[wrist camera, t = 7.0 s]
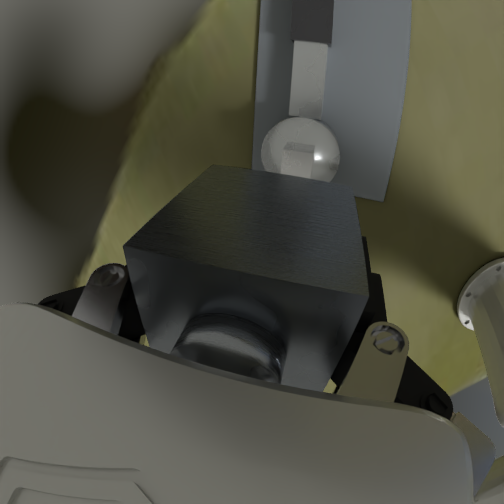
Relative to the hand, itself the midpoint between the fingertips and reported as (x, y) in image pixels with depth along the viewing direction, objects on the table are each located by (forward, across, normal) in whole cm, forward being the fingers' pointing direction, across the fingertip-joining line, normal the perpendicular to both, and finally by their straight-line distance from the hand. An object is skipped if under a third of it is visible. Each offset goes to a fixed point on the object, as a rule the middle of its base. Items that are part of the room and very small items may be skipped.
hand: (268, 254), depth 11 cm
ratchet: (+19, 0, -9) cm, 21 cm away
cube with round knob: (+1, 0, 0) cm, 1 cm away
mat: (+20, -2, -9) cm, 22 cm away
